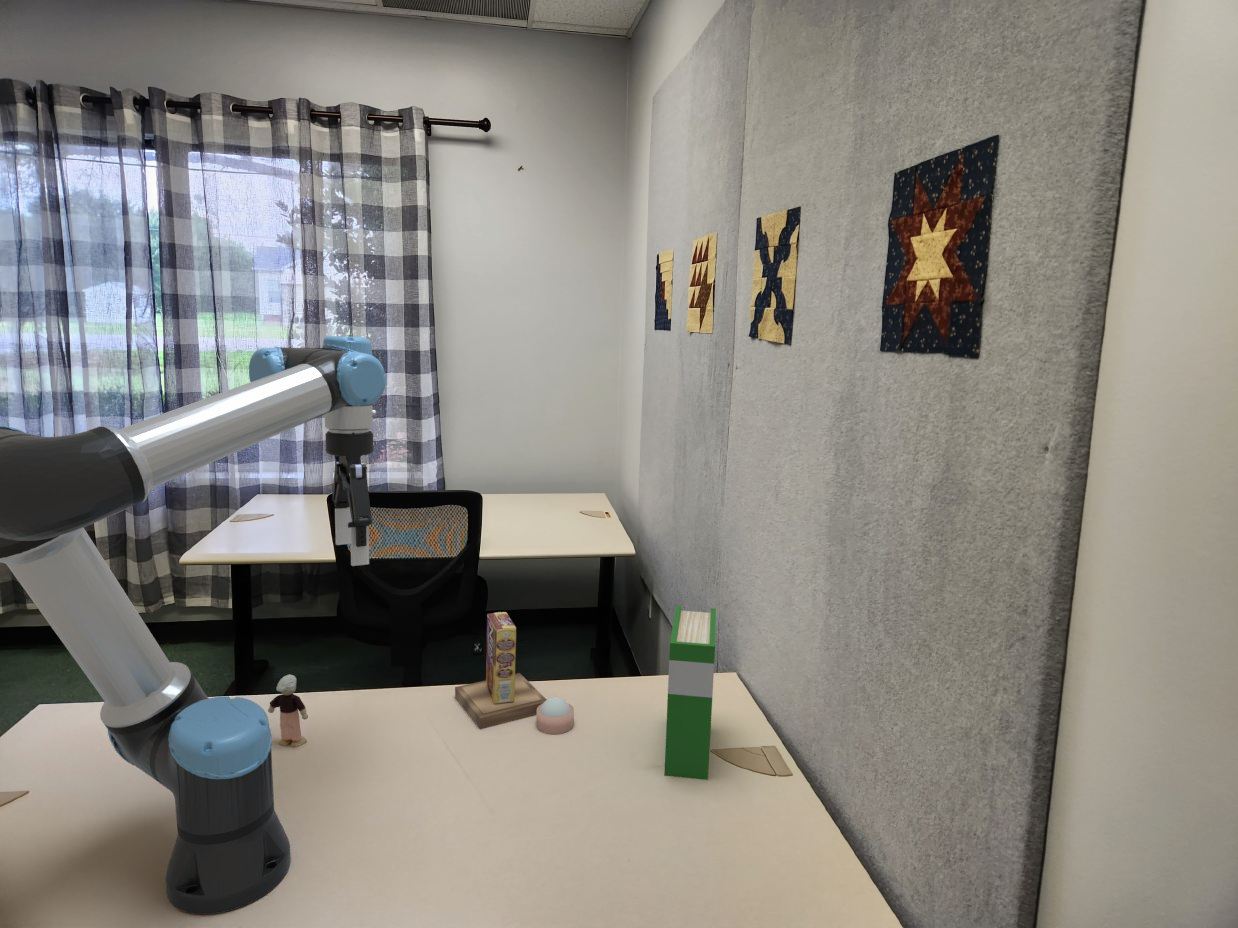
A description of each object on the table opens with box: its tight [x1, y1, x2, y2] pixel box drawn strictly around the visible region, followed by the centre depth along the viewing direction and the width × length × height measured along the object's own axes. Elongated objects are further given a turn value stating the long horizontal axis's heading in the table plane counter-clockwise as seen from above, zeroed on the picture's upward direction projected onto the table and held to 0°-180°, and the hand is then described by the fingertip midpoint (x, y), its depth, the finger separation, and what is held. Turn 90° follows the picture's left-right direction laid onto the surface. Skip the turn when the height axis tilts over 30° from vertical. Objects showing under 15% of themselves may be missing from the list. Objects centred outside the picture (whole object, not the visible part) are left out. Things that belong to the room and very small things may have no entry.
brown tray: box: [454, 672, 548, 730], centre depth 152 cm, size 14×14×3 cm
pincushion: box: [535, 696, 575, 735], centre depth 144 cm, size 7×7×6 cm
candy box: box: [485, 611, 517, 704], centre depth 150 cm, size 9×4×15 cm, turn 20°
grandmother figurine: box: [267, 674, 309, 748], centre depth 137 cm, size 8×4×13 cm, turn 89°
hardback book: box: [664, 605, 717, 781], centre depth 137 cm, size 18×7×24 cm, turn 173°
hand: (351, 553), depth 131 cm, fingers open, 13 cm apart
